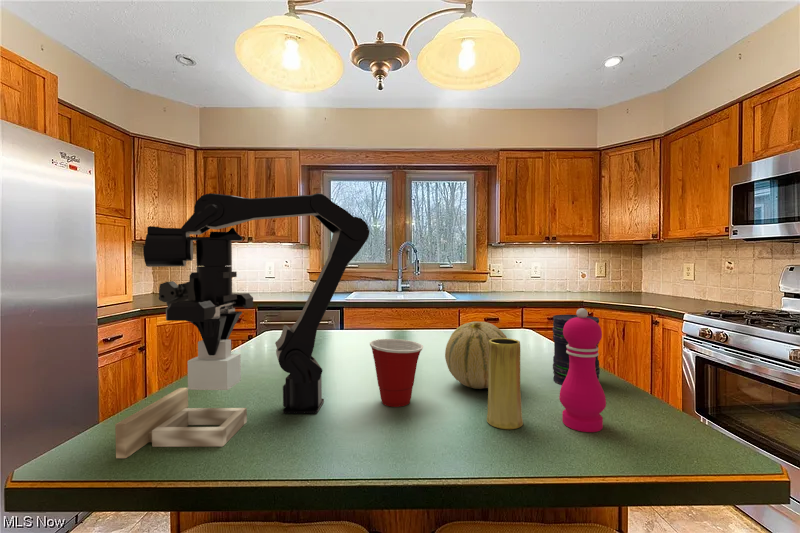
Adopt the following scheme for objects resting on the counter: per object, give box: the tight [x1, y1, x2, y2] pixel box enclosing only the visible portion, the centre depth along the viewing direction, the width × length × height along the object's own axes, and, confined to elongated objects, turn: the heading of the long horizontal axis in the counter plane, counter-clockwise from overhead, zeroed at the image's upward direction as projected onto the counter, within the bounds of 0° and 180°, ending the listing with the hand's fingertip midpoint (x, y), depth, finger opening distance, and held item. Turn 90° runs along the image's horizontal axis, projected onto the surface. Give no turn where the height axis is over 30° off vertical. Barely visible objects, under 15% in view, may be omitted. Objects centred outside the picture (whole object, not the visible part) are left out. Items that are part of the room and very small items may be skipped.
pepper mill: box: [558, 307, 607, 433], centre depth 66 cm, size 7×7×20 cm
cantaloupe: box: [444, 321, 508, 390], centre depth 86 cm, size 15×15×15 cm
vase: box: [486, 337, 524, 430], centre depth 67 cm, size 6×6×14 cm
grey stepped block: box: [187, 339, 242, 391], centre depth 69 cm, size 7×5×8 cm
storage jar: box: [552, 314, 601, 386], centre depth 89 cm, size 10×10×15 cm
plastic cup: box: [369, 338, 424, 408], centre depth 77 cm, size 11×11×12 cm
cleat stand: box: [114, 387, 248, 459], centre depth 64 cm, size 14×16×5 cm
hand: (215, 353), depth 69 cm, fingers closed on grey stepped block
